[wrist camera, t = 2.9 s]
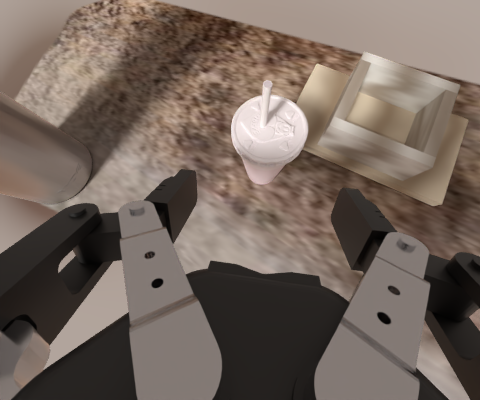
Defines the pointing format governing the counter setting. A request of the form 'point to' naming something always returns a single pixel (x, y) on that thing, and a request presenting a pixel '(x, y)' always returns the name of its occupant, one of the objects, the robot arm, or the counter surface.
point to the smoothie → (268, 134)
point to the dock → (385, 125)
